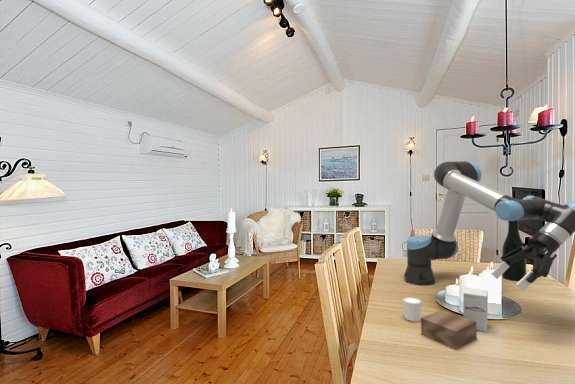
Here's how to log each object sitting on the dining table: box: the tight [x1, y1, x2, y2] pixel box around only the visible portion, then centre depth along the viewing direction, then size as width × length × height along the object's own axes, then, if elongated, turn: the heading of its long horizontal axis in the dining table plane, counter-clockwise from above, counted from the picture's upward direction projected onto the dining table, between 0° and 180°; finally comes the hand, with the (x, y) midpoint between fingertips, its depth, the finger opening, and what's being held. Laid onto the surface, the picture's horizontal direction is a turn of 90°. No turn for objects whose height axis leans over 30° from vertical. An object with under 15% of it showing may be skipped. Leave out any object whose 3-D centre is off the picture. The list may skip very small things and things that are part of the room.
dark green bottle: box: [501, 220, 527, 282], centre depth 164 cm, size 10×10×33 cm
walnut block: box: [420, 309, 478, 351], centre depth 104 cm, size 12×12×6 cm
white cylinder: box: [402, 297, 423, 322], centre depth 118 cm, size 7×7×7 cm
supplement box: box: [462, 287, 489, 333], centre depth 111 cm, size 7×7×13 cm
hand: (505, 281), depth 110 cm, fingers open, 13 cm apart
